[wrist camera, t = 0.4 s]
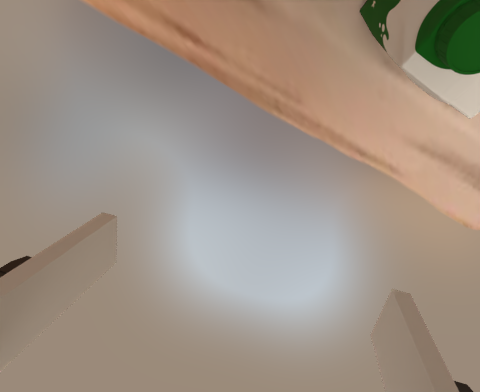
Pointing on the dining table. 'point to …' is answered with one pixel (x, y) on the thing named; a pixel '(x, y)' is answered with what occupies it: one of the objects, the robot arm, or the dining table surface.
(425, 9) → the soya milk
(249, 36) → the dining table surface
